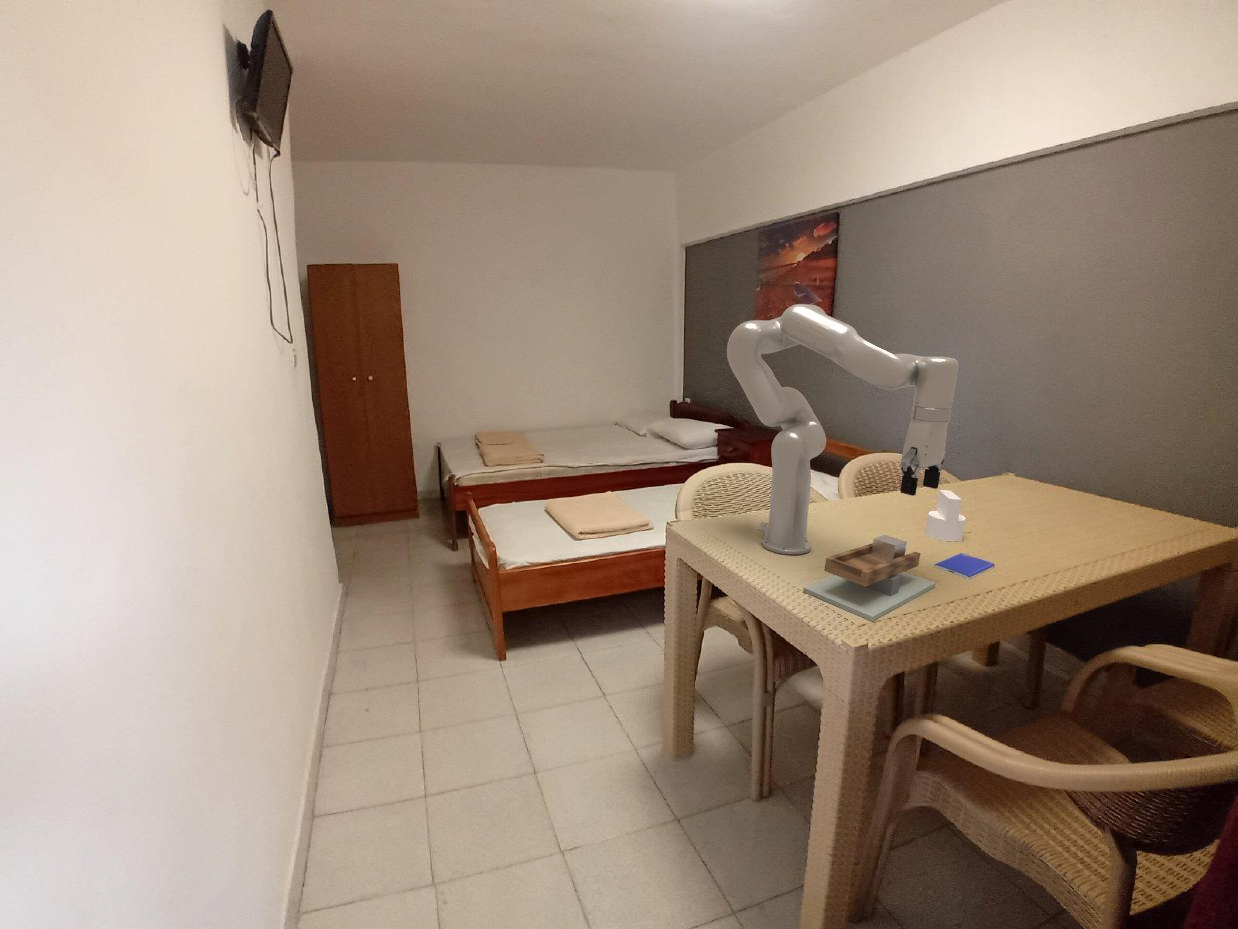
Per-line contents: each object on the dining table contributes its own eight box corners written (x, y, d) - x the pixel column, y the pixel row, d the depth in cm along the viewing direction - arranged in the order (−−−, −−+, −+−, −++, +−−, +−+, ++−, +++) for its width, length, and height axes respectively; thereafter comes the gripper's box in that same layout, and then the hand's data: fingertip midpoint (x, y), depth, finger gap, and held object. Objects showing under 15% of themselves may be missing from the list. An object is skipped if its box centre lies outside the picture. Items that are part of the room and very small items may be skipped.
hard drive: (960, 552, 149) (934, 563, 142) (995, 563, 142) (969, 575, 135) (959, 558, 149) (933, 569, 142) (994, 569, 143) (968, 581, 136)
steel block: (871, 555, 132) (873, 538, 132) (882, 551, 135) (885, 535, 135) (892, 562, 129) (895, 545, 128) (904, 558, 132) (906, 541, 131)
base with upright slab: (967, 543, 158) (974, 500, 155) (930, 540, 160) (937, 498, 157) (955, 532, 166) (962, 491, 164) (921, 529, 168) (927, 489, 165)
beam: (878, 552, 139) (880, 540, 138) (918, 566, 132) (920, 553, 131) (824, 570, 126) (826, 557, 125) (865, 586, 118) (867, 572, 118)
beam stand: (868, 563, 144) (870, 545, 143) (934, 587, 131) (937, 567, 130) (803, 591, 128) (805, 571, 127) (872, 621, 116) (874, 599, 115)
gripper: (933, 409, 135) (922, 481, 139) (892, 415, 125) (882, 492, 129) (967, 414, 129) (955, 488, 134) (928, 421, 119) (915, 501, 124)
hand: (919, 490), depth 132 cm, fingers open, 9 cm apart
